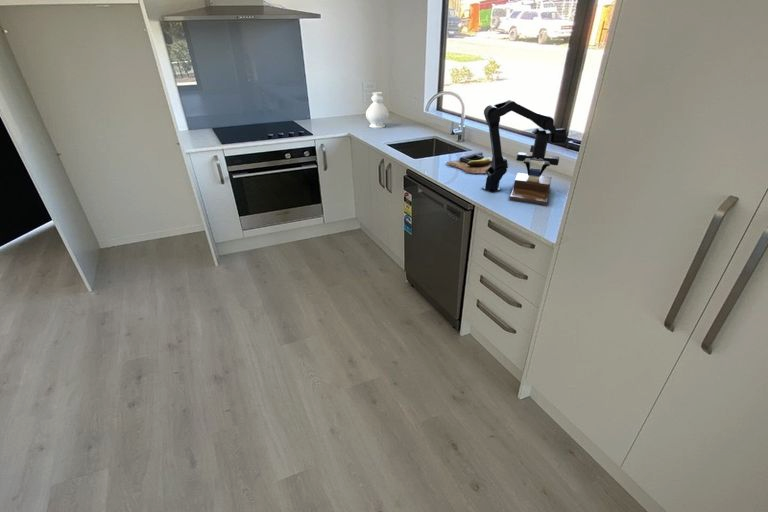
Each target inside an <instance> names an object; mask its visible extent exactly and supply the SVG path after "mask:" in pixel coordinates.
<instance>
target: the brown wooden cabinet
mask: <svg viewBox="0 0 768 512" xmlns="http://www.w3.org/2000/svg"><path fill="white" fill-rule="evenodd" d="M528 177H529V176H528V173H523V172H517V174H516V177H515V179H514V182H513V188H512V191H511V193H510V195H509V201H511V202H519V203H526V204H532V205H537V206H543V207H545V206H547V203H548V197H549V192H550V188H551V184H552V176H547V175H541V176H540V177H539V179H538V182H535V181H528Z"/></svg>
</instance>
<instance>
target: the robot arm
mask: <svg viewBox="0 0 768 512" xmlns="http://www.w3.org/2000/svg"><path fill="white" fill-rule="evenodd" d="M511 112H513V113H515V114H517V115H520V116H521V117H523V118H526V119H528V120H530V121H531V122H532V123H533V124H535V125H536V126H537V127H536V128H535V129H533V130H532V131H531V133H532V134H533V135H535V137H534V138H535V139H534V143H533V145H532V144H531V145H530V149H529V153H531V155H528V153H527V152H522V151H521V152H520V151H519V152H518V153H517V154H516V161H517V162H522V163H523V164H525V167H526V171H527V174H528V176H529V173H530V169H531V163H532V161H536V162H537V161H538V162H543V163H542V166H541V168H540V169H541V170H540V174H539V177H540V176H542V175H543V173H544V171H545V170H546V168H548V167H551V166H559V163H560V157H559V156H557V155H550V157H546V153H547V148H548V143H549V144H550V145H564V144H565V143H566V142H567V129H566V128H556V127H555V126H556V125H554V124H555V119H554V118H553V117H551V116H549V115H547V114H545V113H541V112H536V111H533V110H531V109H529V108H527V107H525V106H523V105H522V104H519V103H517V102H516V101H514V100H512V99H507V100H506V101H504V102H499V103H496V104H489V105H487V106H486V107H485V108H484V110H483V116H484V118H485V121H486V124H487V126H488V131H489V139H490V145H491V153H492V156H491V157H492V161H491V167H490V168H488V169H487V170H486V173H485V174H486V175H487V177H486V180H485V186H483V187H482V190H484V191H487V192H490V193H495V192H498V191H501V190H502V188H501V187H500V181H501V180H502V178H503V176H505V174H506V173H507V172H508V169H509V166H508V159H507V158H506V157H504V156H503V152H502V151H503V150H502V144H501V143H502V142H501V135H500V122H501V117H503V116H505V115H506V114H508V113H511ZM538 127H539V128H540V129H539V128H538Z"/></svg>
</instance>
